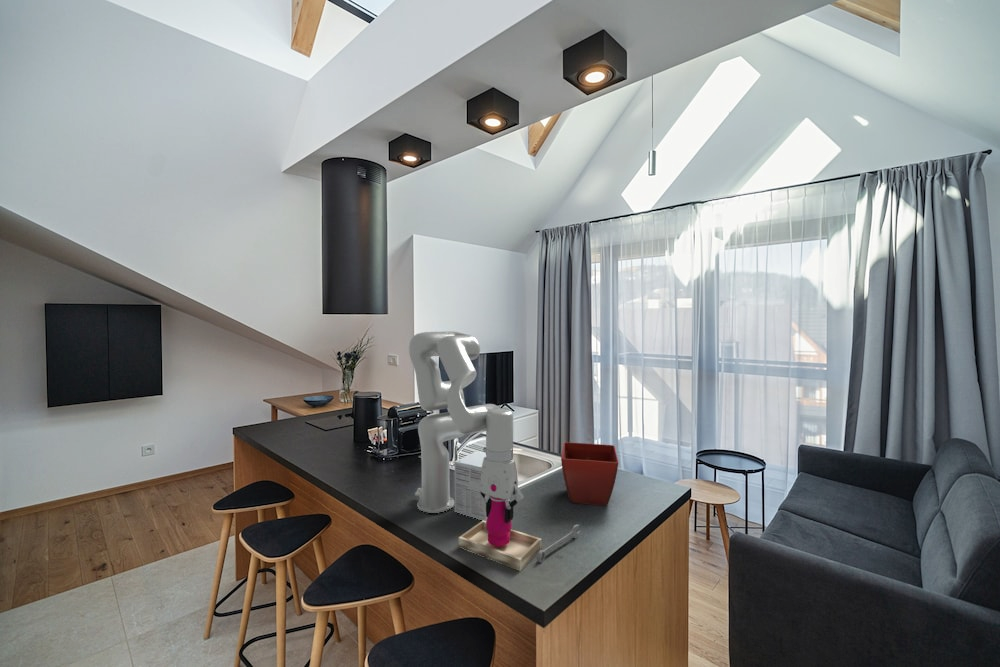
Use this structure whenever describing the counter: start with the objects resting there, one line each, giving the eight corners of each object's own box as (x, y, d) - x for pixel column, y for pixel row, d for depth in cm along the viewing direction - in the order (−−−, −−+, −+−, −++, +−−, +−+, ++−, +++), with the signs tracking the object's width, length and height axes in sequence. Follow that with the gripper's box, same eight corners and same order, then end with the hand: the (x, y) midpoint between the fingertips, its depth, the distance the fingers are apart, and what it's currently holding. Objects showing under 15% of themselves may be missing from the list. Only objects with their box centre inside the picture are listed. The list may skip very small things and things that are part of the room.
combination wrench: (539, 552, 109) (582, 523, 123) (535, 550, 110) (578, 522, 124) (539, 566, 109) (582, 536, 123) (535, 564, 110) (578, 534, 124)
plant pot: (618, 511, 139) (618, 462, 138) (560, 506, 142) (560, 458, 142) (614, 488, 157) (614, 444, 157) (563, 484, 161) (563, 441, 160)
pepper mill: (480, 540, 117) (480, 470, 116) (499, 531, 122) (499, 463, 121) (498, 550, 111) (498, 477, 111) (517, 540, 116) (517, 470, 116)
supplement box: (487, 523, 131) (486, 468, 130) (453, 513, 138) (453, 461, 137) (508, 507, 142) (508, 456, 142) (476, 498, 149) (476, 450, 148)
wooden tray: (458, 548, 117) (458, 537, 117) (483, 529, 127) (482, 520, 127) (520, 571, 106) (520, 559, 106) (541, 549, 116) (541, 538, 116)
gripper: (466, 452, 117) (466, 515, 118) (519, 464, 108) (519, 532, 108) (482, 445, 123) (482, 505, 124) (533, 456, 114) (532, 520, 115)
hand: (499, 517), depth 116 cm, fingers closed on pepper mill, 5 cm apart
